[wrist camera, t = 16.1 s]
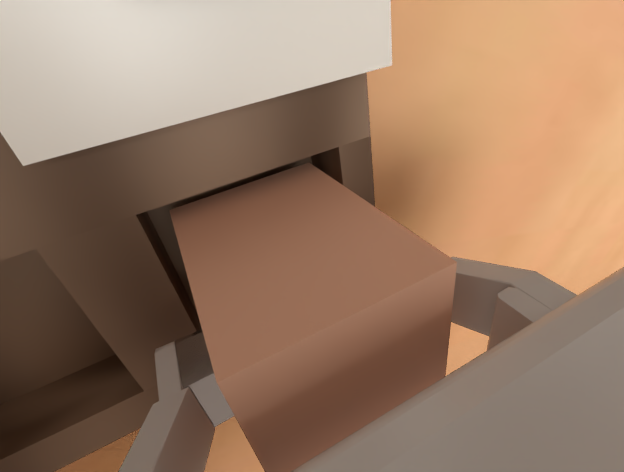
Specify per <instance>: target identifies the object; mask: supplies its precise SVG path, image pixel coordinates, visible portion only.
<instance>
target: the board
mask: <svg viewBox="0 0 624 472" xmlns="http://www.w3.org/2000/svg"><path fill="white" fill-rule="evenodd" d="M308 162H309V163H311V164H312V165H314V166H315V167H317V168H318V169H320V170H321V171H322V172H324V173H325V174H327V175H328V176H330V177H331V178H333V179H334V180H336V181H337V182H339V183H340V184H342V185H343V186H345V187H346V188H348V189H349V190H351V191H352V192H354V193H355V194H357V195H358V196H360V197H361V198H363V199H364V200H366V201H367V202H369V203H370V204H371V205H373V206H374V207H375V200H374V184H373V169H372V153H371V137H370V121H369V105H368V89H367V74H366V73H362V74H358V75H355V76H351V77H347V78H344V79H340V80H336V81H333V82H329V83H325V84H322V85H318V86H314V87H311V88H307V89H303V90H300V91H296V92H292V93H289V94H285V95H281V96H278V97H274V98H270V99H267V100H263V101H259V102H256V103H252V104H248V105H245V106H241V107H237V108H234V109H230V110H226V111H223V112H219V113H215V114H212V115H208V116H204V117H201V118H197V119H193V120H190V121H186V122H182V123H179V124H175V125H171V126H168V127H164V128H160V129H157V130H153V131H149V132H146V133H142V134H138V135H135V136H131V137H127V138H124V139H120V140H116V141H113V142H109V143H105V144H102V145H98V146H94V147H91V148H87V149H83V150H80V151H76V152H72V153H69V154H65V155H61V156H58V157H54V158H50V159H47V160H43V161H39V162H36V163H32V164H28V165H25V166H23V165H22V164H21V162H20V161H19V159H18V158H17V156H16V155H15V153H14V152H13V150H12V149H11V147H10V146H9V144H8V143H7V141H6V140H5V138H4V137H3V135H2V134H1V132H0V472H54V471H56V470H58V469H60V468H62V467H64V466H66V465H68V464H70V463H72V462H74V461H76V460H78V459H80V458H82V457H84V456H86V455H88V454H90V453H92V452H94V451H96V450H98V449H100V448H102V447H104V446H106V445H108V444H110V443H112V442H114V441H116V440H118V439H120V438H122V437H123V436H125V435H127V434H129V433H131V432H133V431H135V430H137V429H139V428H141V427H142V425H143V423H144V421H145V419H146V417H147V415H148V413H149V411H150V409H151V407H152V405H153V404H154V403H156V402H158V401H159V396H158V386H157V376H156V366H155V356H154V354H155V350H156V349H157V348H159V347H162V346H164V345H166V344H169V343H171V342H173V341H175V340H177V339H179V338H182V337H184V336H186V335H189V334H191V333H194V332H196V331H198V330H201V329H202V328H201V324H200V320H199V317H198V313H197V309H196V306H195V302H194V299H193V295H192V291H191V288H190V284H189V280H188V277H187V273H186V270H185V266H184V262H183V259H182V255H181V251H180V248H179V244H178V240H177V237H176V233H175V230H174V226H173V222H172V219H171V215H170V211H169V210H171V209H174V208H177V207H180V206H183V205H185V204H188V203H191V202H194V201H197V200H200V199H203V198H206V197H209V196H212V195H215V194H218V193H221V192H223V191H226V190H229V189H232V188H235V187H238V186H241V185H244V184H247V183H250V182H253V181H256V180H259V179H261V178H264V177H267V176H270V175H273V174H276V173H279V172H282V171H285V170H288V169H291V168H294V167H297V166H299V165H302V164H305V163H308Z"/></svg>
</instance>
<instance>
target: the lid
mask: <svg viewBox="0 0 624 472" xmlns="http://www.w3.org/2000/svg"><path fill="white" fill-rule="evenodd" d="M391 65H392V40H391V0H0V132H1V134H2V135H3V137H4V138H5V140H6V141H7V143H8V144H9V146H10V147H11V149H12V150H13V152H14V153H15V155H16V156H17V158H18V159H19V161H20V162H21V164H22V165H23V166H25V165H28V164H32V163H36V162H39V161H43V160H47V159H50V158H54V157H58V156H61V155H65V154H69V153H72V152H76V151H80V150H83V149H87V148H91V147H94V146H98V145H102V144H105V143H109V142H113V141H116V140H120V139H124V138H127V137H131V136H135V135H138V134H142V133H146V132H149V131H153V130H157V129H160V128H164V127H168V126H171V125H175V124H179V123H182V122H186V121H190V120H193V119H197V118H201V117H204V116H208V115H212V114H215V113H219V112H223V111H226V110H230V109H234V108H237V107H241V106H245V105H248V104H252V103H256V102H259V101H263V100H267V99H270V98H274V97H278V96H281V95H285V94H289V93H292V92H296V91H300V90H303V89H307V88H311V87H314V86H318V85H322V84H325V83H329V82H333V81H336V80H340V79H344V78H347V77H351V76H355V75H358V74H362V73H366V72H369V71H373V70H377V69H380V68H384V67H388V66H391Z"/></svg>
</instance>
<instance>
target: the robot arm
mask: <svg viewBox="0 0 624 472" xmlns="http://www.w3.org/2000/svg"><path fill="white" fill-rule="evenodd" d="M451 258H452V259H453V260H455V261H456V262H457V268H456V278H455V287H454V297H453V307H452V316H451V322H453V323H455V324H458V325H461V326H463V327H466V328H469V329H471V330H474V331H476V332H479V333H482V334H484V335H487V336H489V340H488V346H487V351H486V352H484V353H483V354H481V355H479V356H478V357H476V358H475V359H473V360H471V361H470V362H468V363H466V364H465V365H463V366H462V367H460V368H458V369H457V370H455V371H453V372H452V373H450V374H449V375H447V376H445V377H444V378H442V379H440V380H439V381H437V382H435V383H434V384H432V385H431V386H429V387H427V388H426V389H424V390H422V391H421V392H419V393H418V394H416V395H414V396H413V397H411V398H409V399H408V400H406V401H405V402H403V403H401V404H400V405H398V406H396V407H395V408H393V409H392V410H390V411H388V412H387V413H385V414H384V415H382V416H380V417H379V418H377V419H375V420H374V421H372V422H371V423H369V424H367V425H366V426H364V427H362V428H361V429H359V430H358V431H356V432H354V433H353V434H351V435H349V436H348V437H346V438H345V439H343V440H341V441H340V442H338V443H336V444H335V445H333V446H332V447H330V448H328V449H327V450H325V451H323V452H322V453H320V454H319V455H317V456H315V457H314V458H312V459H310V460H309V461H307V462H306V463H304V464H302V465H301V466H299V467H297V468H296V469H294V470H293V471H291V472H624V267H623V268H621V269H619V270H618V271H616V272H614V273H613V274H611V275H610V276H608V277H606V278H605V279H603V280H601V281H600V282H598V283H597V284H595V285H593V286H592V287H590V288H588V289H587V290H585V291H584V292H582V293H580V294H579V295H576V294H574V293H573V292H571V291H569V290H567V289H565V288H564V287H562V286H560V285H558V284H557V283H555V282H553V281H551V280H550V279H548V278H546V277H544V276H543V275H541V274H539V273H537V272H536V271H531V270H525V269H519V268H514V267H508V266H502V265H497V264H491V263H485V262H480V261H474V260H468V259H463V258H457V257H451ZM154 356H155V366H156V376H157V386H158V396H159V401H158V402H156V403H154V404H153V405H152V407H151V409H150V411H149V413H148V415H147V417H146V419H145V421H144V423H143V425H142V427H141V429H140V431H139V432H138V434H137V436H136V438H135V440H134V442H133V444H132V446H131V448H130V450H129V452H128V454H127V456H126V458H125V460H124V462H123V464H122V466H121V468H120V469H119V471H118V472H204V470H205V466H206V462H207V458H208V455H209V451H210V447H211V443H212V439H213V435H214V431H215V428H214V427H215V426H217V425H219V424H221V423H222V422H224V421H226V420H228V419H229V418H231V417H233V416H234V414H233V412H232V410H231V408H230V406H229V404H228V403H227V401H226V399H225V397H224V395H223V393H222V392H221V390H220V388H219V386H218V384H217V382H216V378H215V375H214V371H213V368H212V364H211V360H210V357H209V353H208V349H207V346H206V342H205V339H204V335H203V331H202V329H201V330H198V331H196V332H194V333H191V334H189V335H186V336H184V337H182V338H179V339H177V340H175V341H173V342H171V343H169V344H166V345H164V346H162V347H159V348H157V349H156V350H155V354H154Z"/></svg>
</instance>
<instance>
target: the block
mask: <svg viewBox="0 0 624 472" xmlns="http://www.w3.org/2000/svg"><path fill="white" fill-rule="evenodd" d="M169 211H170V215H171V219H172V222H173V226H174V230H175V233H176V237H177V240H178V244H179V248H180V251H181V255H182V259H183V262H184V266H185V270H186V273H187V277H188V280H189V284H190V288H191V291H192V295H193V299H194V302H195V306H196V309H197V313H198V317H199V320H200V324H201V328H202V331H203V335H204V339H205V342H206V346H207V349H208V353H209V357H210V360H211V364H212V368H213V371H214V375H215V378H216V382H217V384H218V386H219V388H220V390H221V392H222V393H223V395H224V397H225V399H226V401H227V403H228V404H229V406H230V408H231V410H232V412H233V414H234V416H235V417H236V419H237V421H238V423H239V425H240V427H241V428H242V430H243V432H244V434H245V436H246V438H247V439H248V441H249V443H250V445H251V447H252V449H253V450H254V452H255V454H256V456H257V458H258V460H259V461H260V463H261V465H262V467H263V469H264V471H265V472H291V471H293V470H294V469H296V468H297V467H299V466H301V465H302V464H304V463H306V462H307V461H309V460H310V459H312V458H314V457H315V456H317V455H319V454H320V453H322V452H323V451H325V450H327V449H328V448H330V447H332V446H333V445H335V444H336V443H338V442H340V441H341V440H343V439H345V438H346V437H348V436H349V435H351V434H353V433H354V432H356V431H358V430H359V429H361V428H362V427H364V426H366V425H367V424H369V423H371V422H372V421H374V420H375V419H377V418H379V417H380V416H382V415H384V414H385V413H387V412H388V411H390V410H392V409H393V408H395V407H396V406H398V405H400V404H401V403H403V402H405V401H406V400H408V399H409V398H411V397H413V396H414V395H416V394H418V393H419V392H421V391H422V390H424V389H426V388H427V387H429V386H431V385H432V384H434V383H435V382H437V381H439V380H440V379H442V378H444V377H445V374H446V365H447V355H448V345H449V336H450V326H451V316H452V307H453V297H454V287H455V278H456V268H457V262H456V261H455V260H453V259H452V258H450V257H449V256H447V255H446V254H444V253H443V252H441V251H440V250H438V249H437V248H435V247H434V246H432V245H431V244H429V243H428V242H426V241H425V240H423V239H422V238H420V237H419V236H418V235H416V234H415V233H413V232H412V231H410V230H409V229H407V228H406V227H404V226H403V225H401V224H400V223H398V222H397V221H395V220H394V219H392V218H391V217H389V216H388V215H386V214H385V213H383V212H382V211H380V210H379V209H377V208H376V207H374V206H373V205H371V204H370V203H369V202H367V201H366V200H364V199H363V198H361V197H360V196H358V195H357V194H355V193H354V192H352V191H351V190H349V189H348V188H346V187H345V186H343V185H342V184H340V183H339V182H337V181H336V180H334V179H333V178H331V177H330V176H328V175H327V174H325V173H324V172H322V171H321V170H320V169H318V168H317V167H315V166H314V165H312V164H311V163H309V162H308V163H305V164H302V165H299V166H297V167H294V168H291V169H288V170H285V171H282V172H279V173H276V174H273V175H270V176H267V177H264V178H261V179H259V180H256V181H253V182H250V183H247V184H244V185H241V186H238V187H235V188H232V189H229V190H226V191H223V192H221V193H218V194H215V195H212V196H209V197H206V198H203V199H200V200H197V201H194V202H191V203H188V204H185V205H183V206H180V207H177V208H174V209H171V210H169Z"/></svg>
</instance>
